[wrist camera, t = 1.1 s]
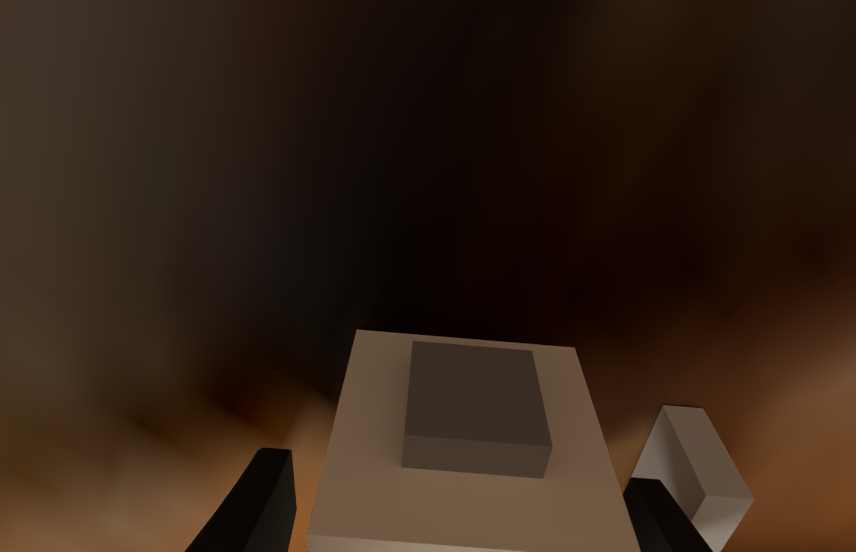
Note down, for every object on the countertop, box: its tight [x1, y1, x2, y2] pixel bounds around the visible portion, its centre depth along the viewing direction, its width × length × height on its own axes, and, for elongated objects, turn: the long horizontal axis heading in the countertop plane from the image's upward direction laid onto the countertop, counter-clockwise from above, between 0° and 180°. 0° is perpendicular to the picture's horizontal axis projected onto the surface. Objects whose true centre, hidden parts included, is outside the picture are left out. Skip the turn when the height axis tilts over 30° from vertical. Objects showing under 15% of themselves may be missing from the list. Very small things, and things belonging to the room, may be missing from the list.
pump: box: [306, 330, 641, 552], centre depth 10 cm, size 6×5×6 cm
